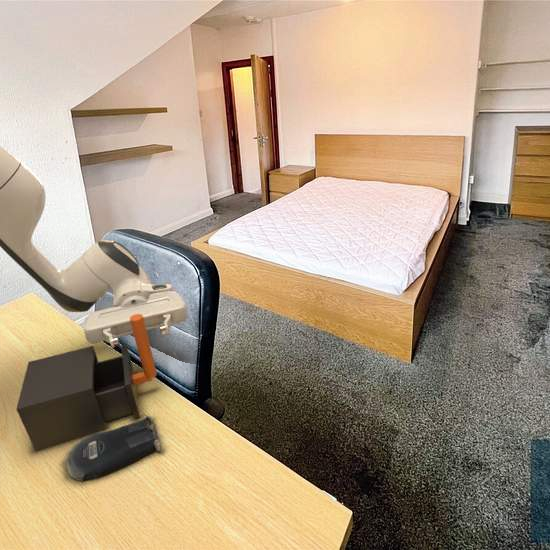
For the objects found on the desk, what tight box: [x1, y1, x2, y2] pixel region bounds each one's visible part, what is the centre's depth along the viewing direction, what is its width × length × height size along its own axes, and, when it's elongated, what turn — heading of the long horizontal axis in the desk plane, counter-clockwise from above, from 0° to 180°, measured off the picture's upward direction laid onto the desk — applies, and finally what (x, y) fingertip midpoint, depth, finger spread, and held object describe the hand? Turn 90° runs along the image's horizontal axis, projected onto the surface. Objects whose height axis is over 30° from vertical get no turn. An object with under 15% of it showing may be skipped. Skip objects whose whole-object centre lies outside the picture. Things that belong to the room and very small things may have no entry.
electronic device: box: [65, 413, 161, 482], centre depth 72 cm, size 9×6×15 cm
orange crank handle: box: [94, 314, 158, 423], centre depth 79 cm, size 16×14×18 cm
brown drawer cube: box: [15, 345, 107, 452], centre depth 79 cm, size 12×14×11 cm
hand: (140, 337), depth 79 cm, fingers open, 8 cm apart
